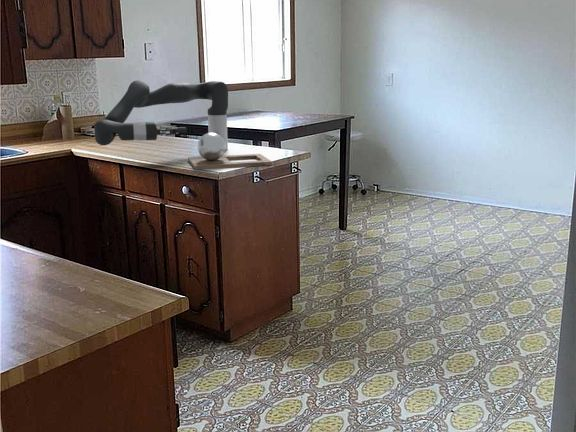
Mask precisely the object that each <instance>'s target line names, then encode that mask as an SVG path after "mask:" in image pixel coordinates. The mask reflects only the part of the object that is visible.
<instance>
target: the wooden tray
mask: <svg viewBox="0 0 576 432" xmlns="http://www.w3.org/2000/svg"><path fill="white" fill-rule="evenodd" d="M239 160H247V161H239ZM249 160H250V161H249ZM187 162H188V163H189V164H190V165H191V167H192V168H193V169H194V170H210V169H225V168H226V169H227V168H242V167H243V168H245V167H247V168H248V167H263V166H272V165H273V161H272V160H270V159H269V158H267V157H266V156H265V155H263V154H261V153H249V154H247V153H246V154H232V155H231V154H229V155H222V157H221V158H219V159H217V160H214V161H209V160H206V159H204V158H203V157H202V156H193V157H187Z"/></svg>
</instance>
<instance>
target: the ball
mask: <svg viewBox="0 0 576 432" xmlns="http://www.w3.org/2000/svg"><path fill="white" fill-rule="evenodd" d="M196 146H197V151H198V152H197V153H199V155H200V157H203V158H204V159H206V160H209V161H214V160H217V159H219V158H221V157H222V156H224V154H225V152H226V150H225V142H224V140H223V138H222V137H221V136H220V135H218V134H216V133H209V132H207V133H205V134H203V135H202V136H201V137H200V138H199V139H198V141H197V145H196Z"/></svg>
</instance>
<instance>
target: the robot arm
mask: <svg viewBox="0 0 576 432" xmlns="http://www.w3.org/2000/svg"><path fill="white" fill-rule="evenodd" d="M194 100H209V101H211V106H210V107H209V108H207V126H208V128H207V130H208V133H216V134H218V135H220V136H221V137H222V138H223V140H224V142H225V151H226V150H228V148H229V147H228V144H229V143H228V122H227V121H228V115H227V111H228V109H229V89H228V86H227V84H226V83H225V82H223V81H220V80H218V81H217V80H211V81H205V82H200V83H189V82H171V83H168V84H167V83H166V85H163V86H160V87H159V88H158V89H155V90H153V91H151V90H150V86H149V85H148V84H147V82H145V81H143V80H140V79H137V80H136V79H135V80H133V81H132V82H131V83H129V86H128V88H127V91H126V92H125V94H124V95H123V97H121V99H120V100H119V101H118V103H117V104H116V105H115V106H114V107H113V108H112V109H111V110H110V111H109V112H108V114H107V115H106V116H105V117H104V119H99V120H97V121H95V123H94V125H93V128H94V140H95V142H96V143H97V144H98V145H100V146H107V145H110V144H111V143H112V142H113V141H114V139H115V138H116V136H118V138H119V140H121V141H157V139H158V135H160V136H161V137H167V136H174V135H178V134H187V132H188V129H187V127H185V126H183V127H178V126H171V125H170V126H169V125H160V127H157V123H156V121H146V122H145V121H143V122H142V121H141V122H131V123H129V122H128V123H127V122H126V120H127V119H128V118H129V116H130V114H131V113H132V111H133V110H134V108H136V109H141V108H147V107H151V106H157V105H166V104H168V105H169V104H181V103H182V104H183V103H188V102H191V101H194ZM125 122H126V123H125Z"/></svg>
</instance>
